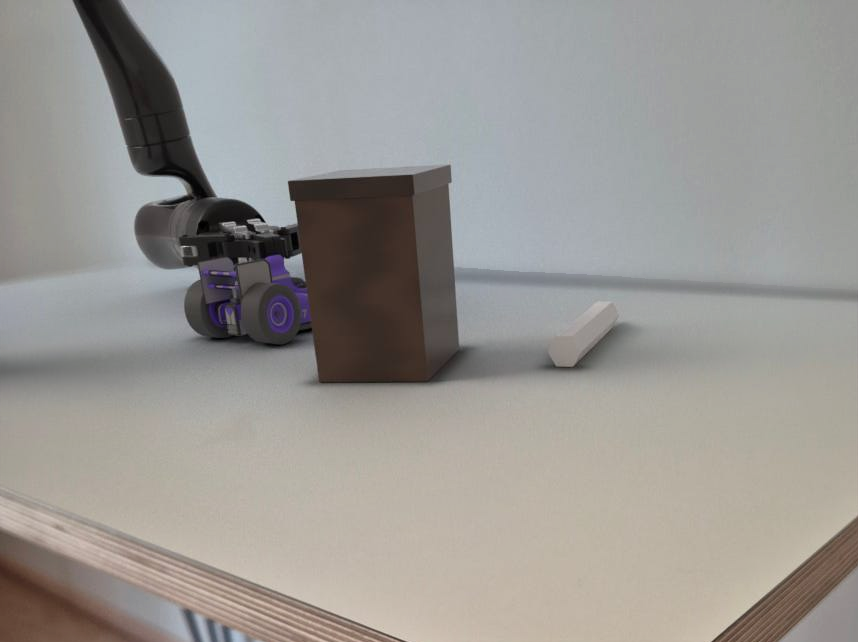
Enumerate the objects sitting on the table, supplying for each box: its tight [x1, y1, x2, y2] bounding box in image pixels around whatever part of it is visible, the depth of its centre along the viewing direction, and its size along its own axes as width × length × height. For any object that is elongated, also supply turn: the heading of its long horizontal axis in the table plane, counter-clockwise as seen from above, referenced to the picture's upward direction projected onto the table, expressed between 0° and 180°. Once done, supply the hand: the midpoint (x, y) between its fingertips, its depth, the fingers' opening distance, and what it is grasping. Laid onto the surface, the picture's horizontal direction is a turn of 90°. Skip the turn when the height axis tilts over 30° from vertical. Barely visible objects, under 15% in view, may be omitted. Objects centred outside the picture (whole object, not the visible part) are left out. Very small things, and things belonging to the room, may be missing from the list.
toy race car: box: [183, 255, 312, 345], centre depth 85 cm, size 10×15×6 cm, turn 144°
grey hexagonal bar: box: [547, 301, 620, 368], centre depth 74 cm, size 3×2×16 cm
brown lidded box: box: [287, 164, 460, 383], centre depth 69 cm, size 9×10×13 cm
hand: (275, 249), depth 84 cm, fingers closed
